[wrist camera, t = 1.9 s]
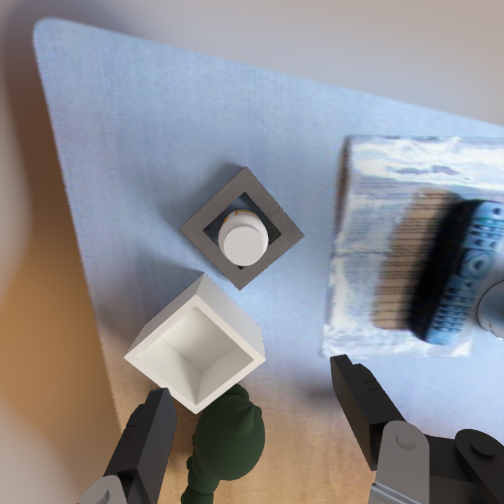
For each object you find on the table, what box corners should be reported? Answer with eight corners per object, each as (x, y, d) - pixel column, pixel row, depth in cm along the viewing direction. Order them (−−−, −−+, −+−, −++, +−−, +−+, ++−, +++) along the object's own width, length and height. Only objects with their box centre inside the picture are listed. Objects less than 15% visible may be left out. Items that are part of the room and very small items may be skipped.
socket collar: (245, 167, 31) (246, 166, 29) (300, 231, 34) (304, 235, 31) (183, 225, 33) (178, 229, 30) (239, 283, 35) (239, 290, 33)
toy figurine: (224, 463, 47) (279, 365, 39) (210, 650, 29) (305, 540, 21) (175, 451, 45) (221, 347, 37) (128, 640, 28) (198, 518, 20)
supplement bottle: (234, 255, 34) (232, 282, 25) (214, 220, 33) (204, 236, 24) (269, 236, 34) (281, 257, 24) (250, 200, 32) (255, 208, 23)
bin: (204, 272, 35) (196, 294, 28) (261, 328, 37) (265, 360, 31) (144, 325, 36) (123, 357, 30) (203, 374, 39) (195, 414, 32)
